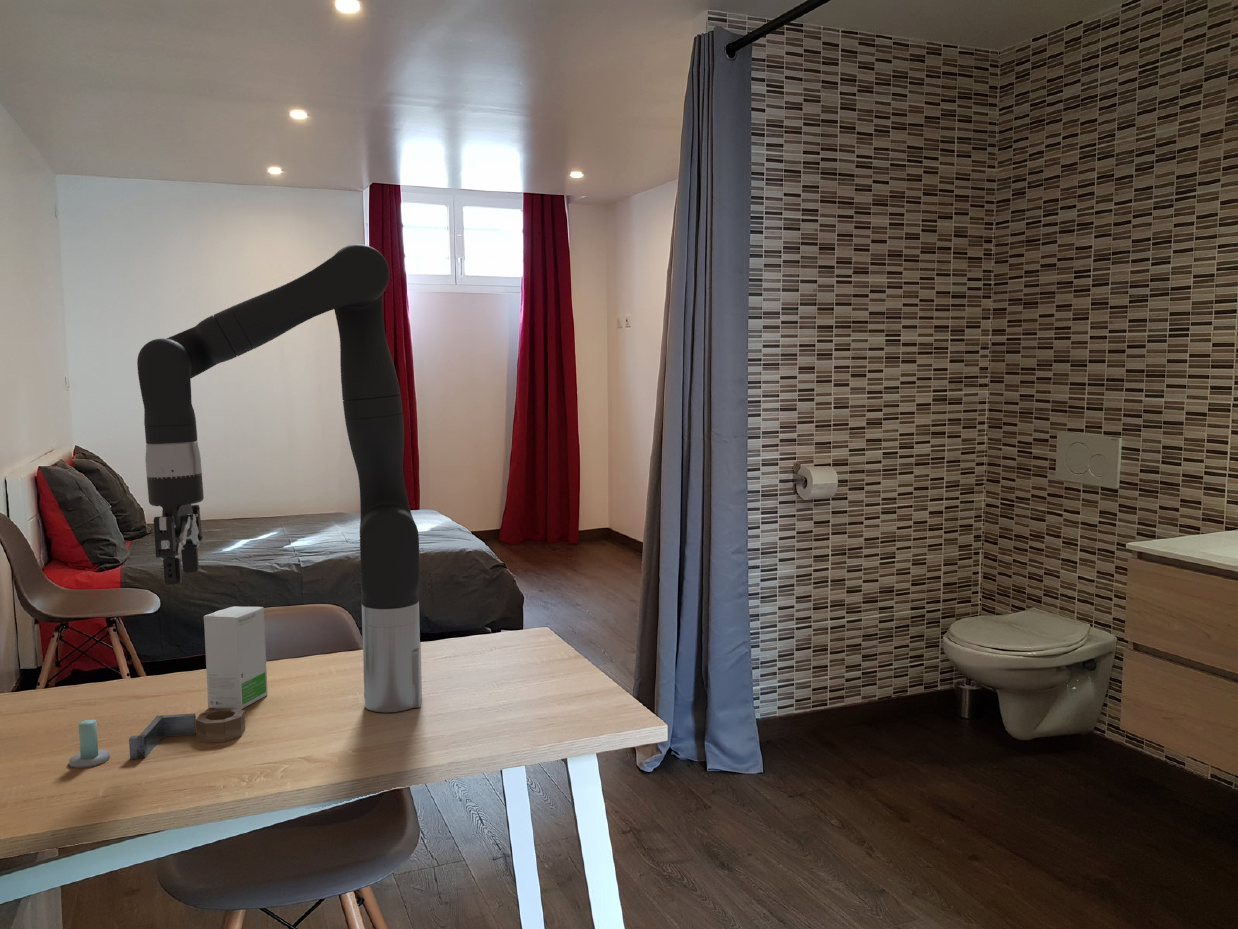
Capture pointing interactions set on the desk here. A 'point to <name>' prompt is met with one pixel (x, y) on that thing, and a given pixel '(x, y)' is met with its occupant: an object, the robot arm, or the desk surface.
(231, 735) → the walnut ring
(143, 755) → the bent rail
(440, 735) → the desk surface
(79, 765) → the teal flanged peg
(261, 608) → the skincare box
